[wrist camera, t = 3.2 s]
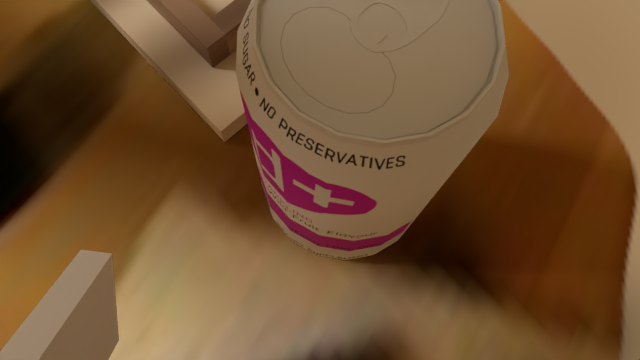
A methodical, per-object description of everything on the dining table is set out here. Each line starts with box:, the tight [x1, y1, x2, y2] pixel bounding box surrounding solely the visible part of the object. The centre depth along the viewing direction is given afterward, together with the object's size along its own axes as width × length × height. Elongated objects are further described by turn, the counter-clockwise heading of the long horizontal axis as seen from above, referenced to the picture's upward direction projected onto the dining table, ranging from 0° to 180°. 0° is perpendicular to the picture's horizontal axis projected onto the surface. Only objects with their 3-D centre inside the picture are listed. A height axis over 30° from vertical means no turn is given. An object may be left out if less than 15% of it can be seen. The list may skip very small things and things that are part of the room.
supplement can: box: [236, 0, 509, 260], centre depth 23 cm, size 8×8×15 cm
